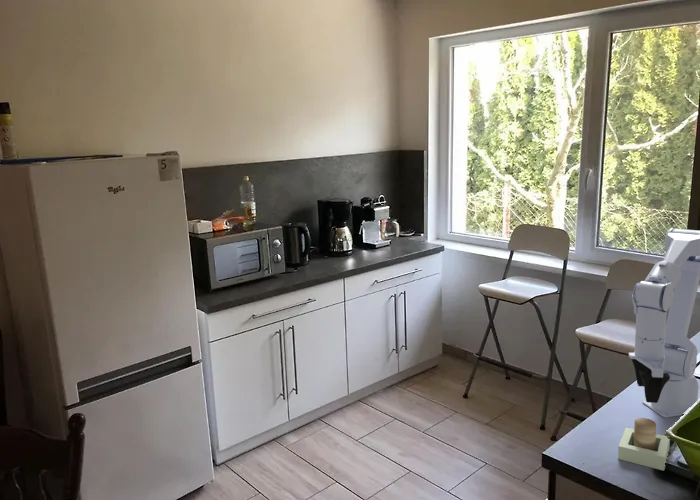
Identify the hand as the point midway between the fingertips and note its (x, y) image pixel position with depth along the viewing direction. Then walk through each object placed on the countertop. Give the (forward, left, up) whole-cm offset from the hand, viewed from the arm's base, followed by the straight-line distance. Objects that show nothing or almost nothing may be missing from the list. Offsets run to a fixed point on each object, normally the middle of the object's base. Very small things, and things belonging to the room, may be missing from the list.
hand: (647, 393), depth 126 cm
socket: (+6, +8, -9) cm, 13 cm away
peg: (+6, +8, -9) cm, 13 cm away
